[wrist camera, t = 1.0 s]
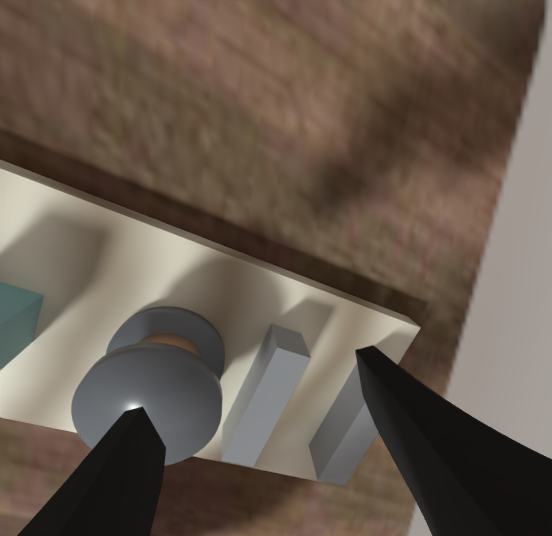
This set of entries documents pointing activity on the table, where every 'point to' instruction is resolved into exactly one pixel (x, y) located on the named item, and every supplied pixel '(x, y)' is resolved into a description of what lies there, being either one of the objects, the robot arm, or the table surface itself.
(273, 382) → the gray parallel rails
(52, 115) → the table surface
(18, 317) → the peg
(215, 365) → the bobbin
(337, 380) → the board
